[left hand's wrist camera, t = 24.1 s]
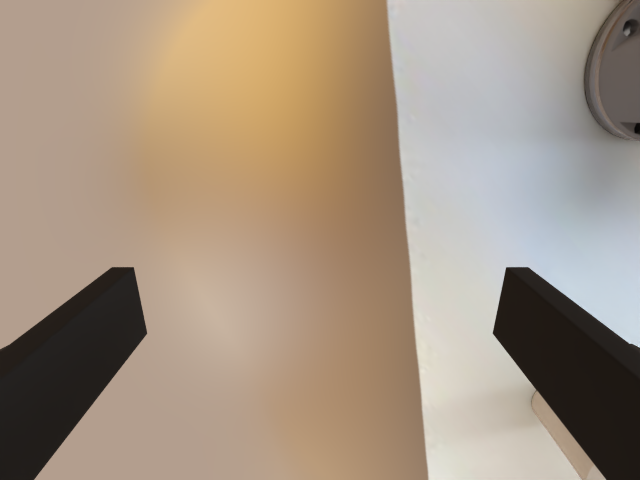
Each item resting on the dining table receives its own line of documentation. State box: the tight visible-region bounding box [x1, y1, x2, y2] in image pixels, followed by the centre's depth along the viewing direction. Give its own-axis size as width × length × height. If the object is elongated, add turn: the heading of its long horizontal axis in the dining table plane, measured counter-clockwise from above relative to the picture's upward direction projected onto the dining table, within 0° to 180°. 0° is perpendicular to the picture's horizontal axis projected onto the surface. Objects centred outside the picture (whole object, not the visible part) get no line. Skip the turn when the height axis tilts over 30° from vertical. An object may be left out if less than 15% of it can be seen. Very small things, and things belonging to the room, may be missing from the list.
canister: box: [532, 391, 606, 480], centre depth 45 cm, size 8×8×11 cm
